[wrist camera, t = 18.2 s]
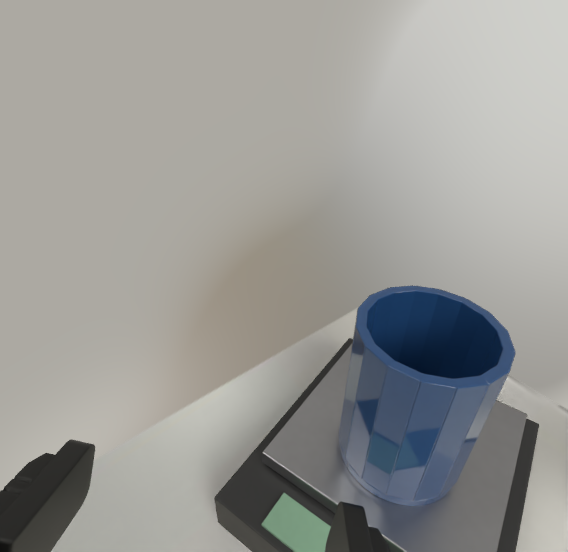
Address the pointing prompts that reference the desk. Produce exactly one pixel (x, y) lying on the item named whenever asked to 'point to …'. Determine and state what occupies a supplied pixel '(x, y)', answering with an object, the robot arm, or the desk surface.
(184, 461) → the desk surface
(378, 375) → the cup
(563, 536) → the desk surface
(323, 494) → the scale pan
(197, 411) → the desk surface
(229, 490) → the scale
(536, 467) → the desk surface
